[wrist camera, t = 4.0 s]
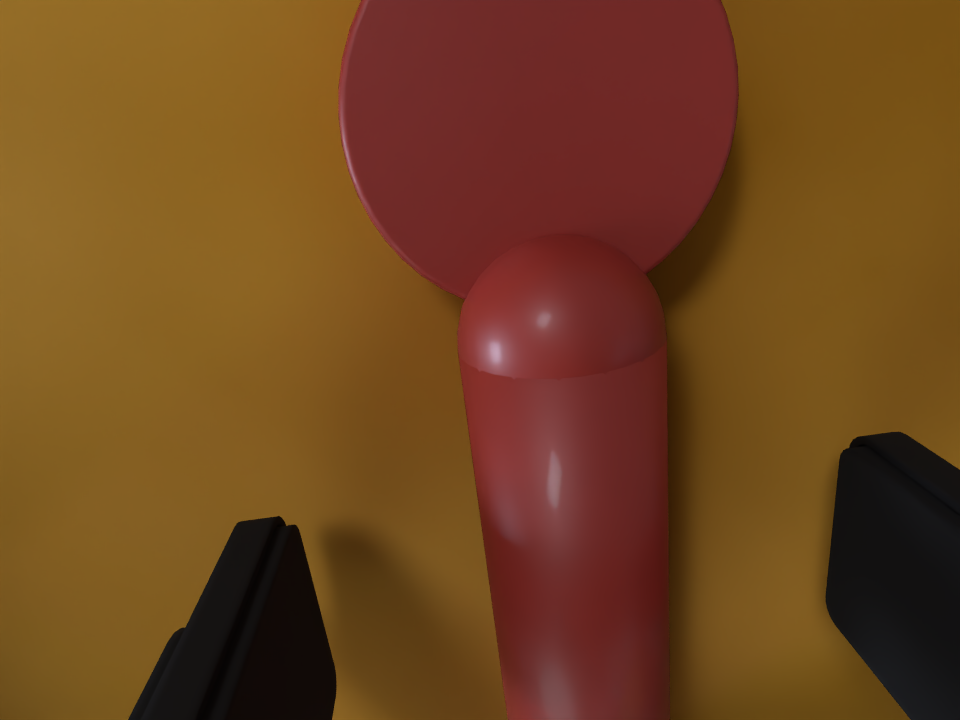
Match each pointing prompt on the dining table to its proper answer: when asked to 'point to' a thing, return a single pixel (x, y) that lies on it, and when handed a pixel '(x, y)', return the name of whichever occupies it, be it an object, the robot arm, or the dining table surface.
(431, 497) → the dining table surface
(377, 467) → the dining table surface
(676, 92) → the red spoon
